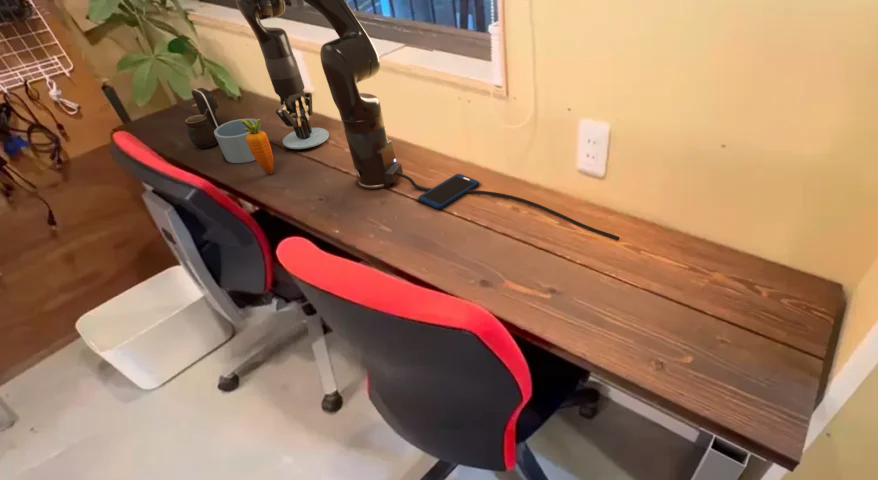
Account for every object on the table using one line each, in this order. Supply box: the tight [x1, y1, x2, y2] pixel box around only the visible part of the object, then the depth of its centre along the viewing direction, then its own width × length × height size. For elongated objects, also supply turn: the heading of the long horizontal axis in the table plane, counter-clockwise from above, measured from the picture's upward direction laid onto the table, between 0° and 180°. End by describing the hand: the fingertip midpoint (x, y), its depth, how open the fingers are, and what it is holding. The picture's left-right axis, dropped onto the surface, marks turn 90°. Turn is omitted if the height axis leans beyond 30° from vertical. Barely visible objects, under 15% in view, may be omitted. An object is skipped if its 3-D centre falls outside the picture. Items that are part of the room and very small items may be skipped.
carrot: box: [242, 118, 274, 175], centre depth 128 cm, size 5×5×15 cm
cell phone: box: [418, 173, 480, 210], centre depth 122 cm, size 7×14×1 cm, turn 140°
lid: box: [282, 118, 330, 150], centre depth 144 cm, size 13×13×6 cm
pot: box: [214, 118, 265, 164], centre depth 140 cm, size 12×12×7 cm
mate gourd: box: [184, 108, 218, 150], centre depth 145 cm, size 7×8×10 cm
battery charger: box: [191, 87, 223, 130], centre depth 153 cm, size 7×4×11 cm, turn 50°
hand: (305, 135), depth 145 cm, fingers closed on lid, 2 cm apart
